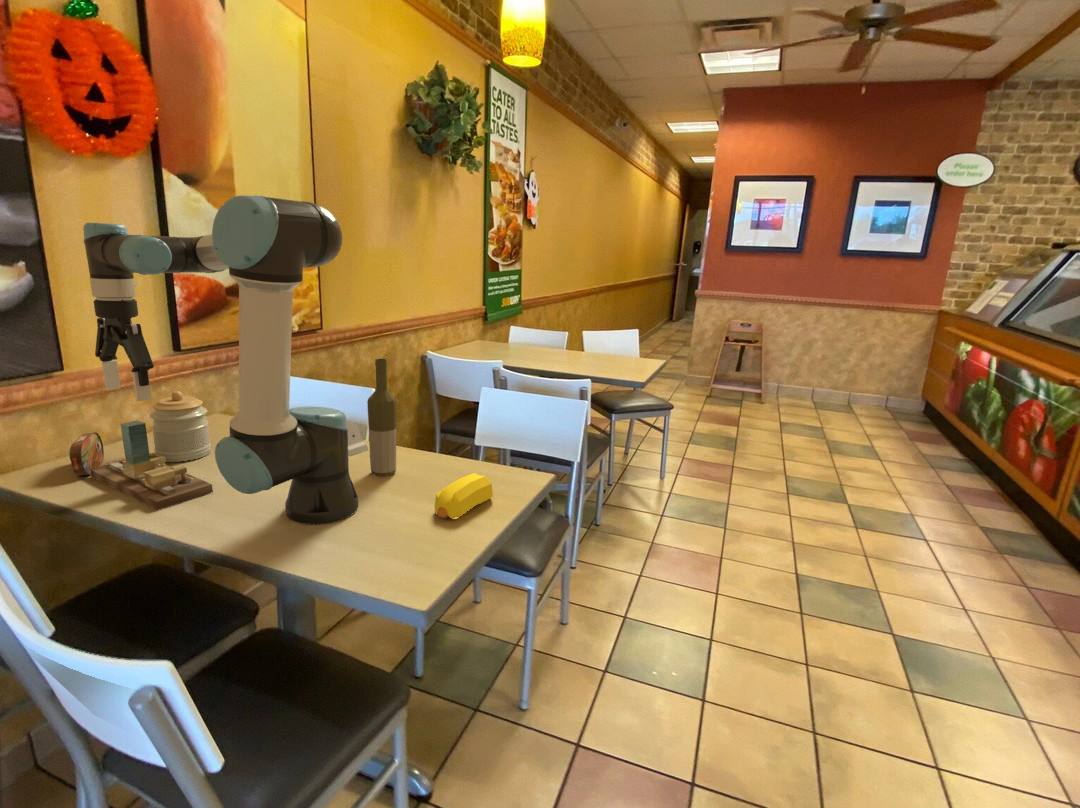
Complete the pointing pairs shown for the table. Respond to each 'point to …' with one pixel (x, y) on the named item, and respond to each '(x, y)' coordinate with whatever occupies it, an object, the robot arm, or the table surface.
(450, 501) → the yellow rounded bar
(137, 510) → the table surface
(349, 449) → the hinge
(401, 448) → the table surface
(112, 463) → the gauge board
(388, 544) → the table surface
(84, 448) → the tin
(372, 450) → the bottle
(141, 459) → the slider
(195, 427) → the jar
